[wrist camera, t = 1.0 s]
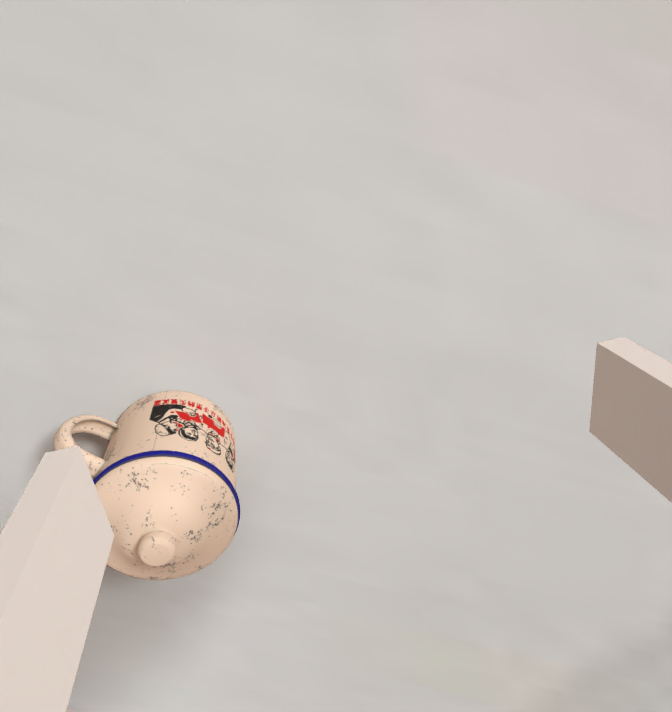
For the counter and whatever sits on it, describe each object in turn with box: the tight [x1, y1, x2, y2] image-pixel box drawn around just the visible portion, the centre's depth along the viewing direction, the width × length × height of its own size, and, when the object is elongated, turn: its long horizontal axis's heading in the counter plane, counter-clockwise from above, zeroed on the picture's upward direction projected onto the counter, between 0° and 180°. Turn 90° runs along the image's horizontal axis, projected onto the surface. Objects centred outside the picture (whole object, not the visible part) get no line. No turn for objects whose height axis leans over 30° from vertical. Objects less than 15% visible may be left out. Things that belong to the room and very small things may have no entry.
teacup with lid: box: [54, 391, 240, 580], centre depth 34 cm, size 12×9×12 cm
